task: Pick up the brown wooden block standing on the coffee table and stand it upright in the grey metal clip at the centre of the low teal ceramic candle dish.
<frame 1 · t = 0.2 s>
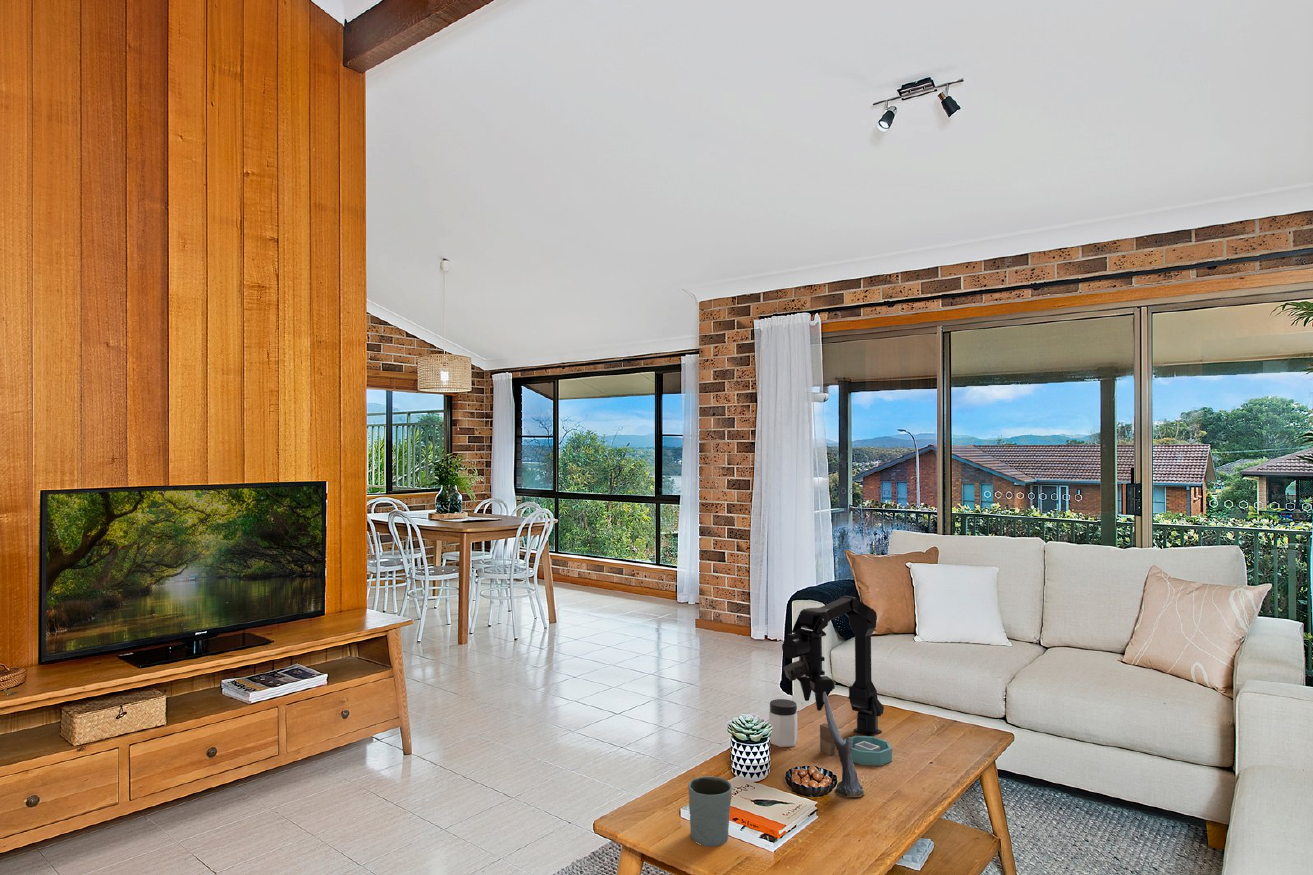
hand: (812, 705, 233), 14 cm above the table, fingers open, 9 cm apart
antler: (841, 792, 205), on the table
brown wooden block: (827, 753, 232), on the table
jar: (783, 743, 241), on the table
grey cup: (710, 838, 180), on the table
dish: (867, 756, 229), on the table
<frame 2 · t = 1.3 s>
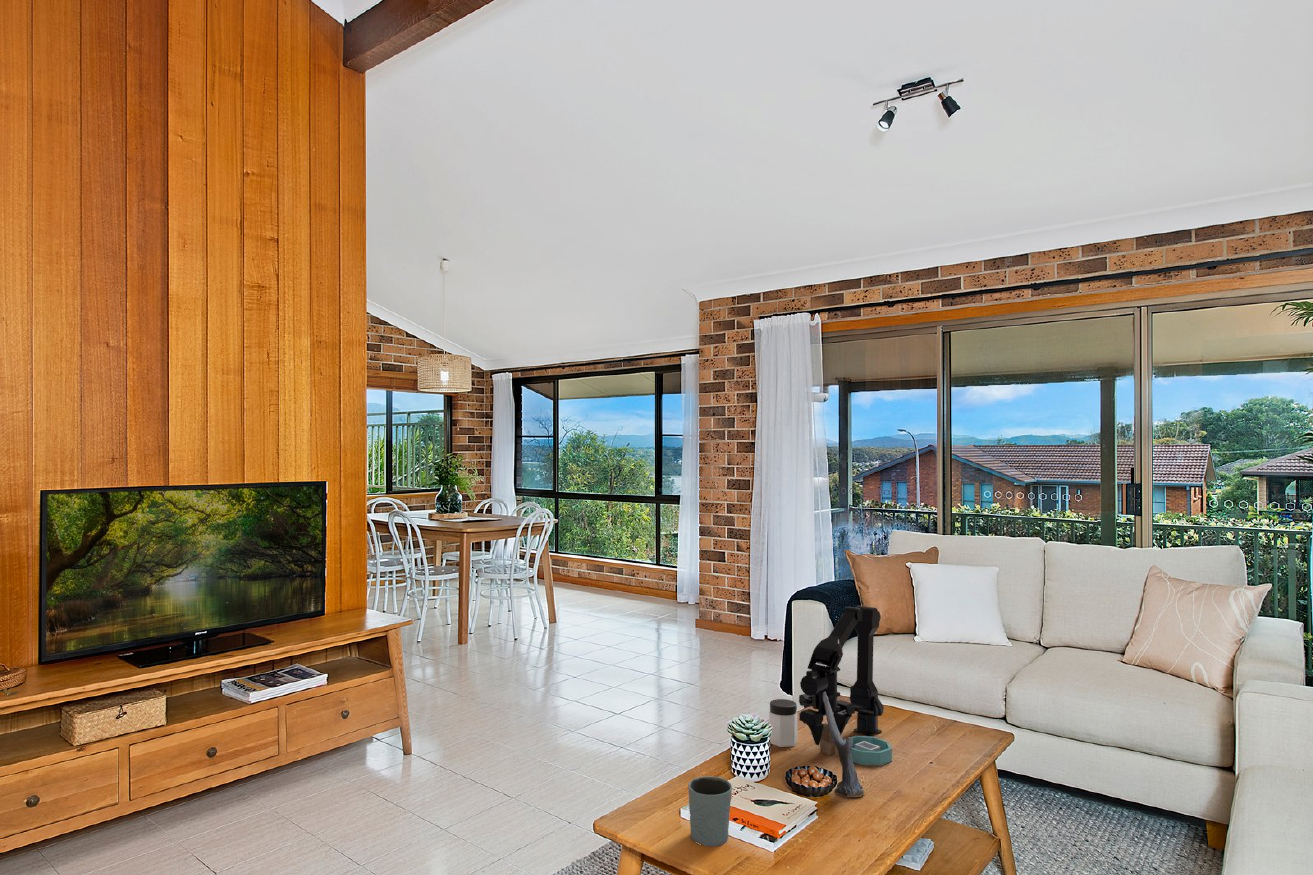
hand: (827, 741, 232), 3 cm above the table, fingers open, 9 cm apart
nothing on the table moved.
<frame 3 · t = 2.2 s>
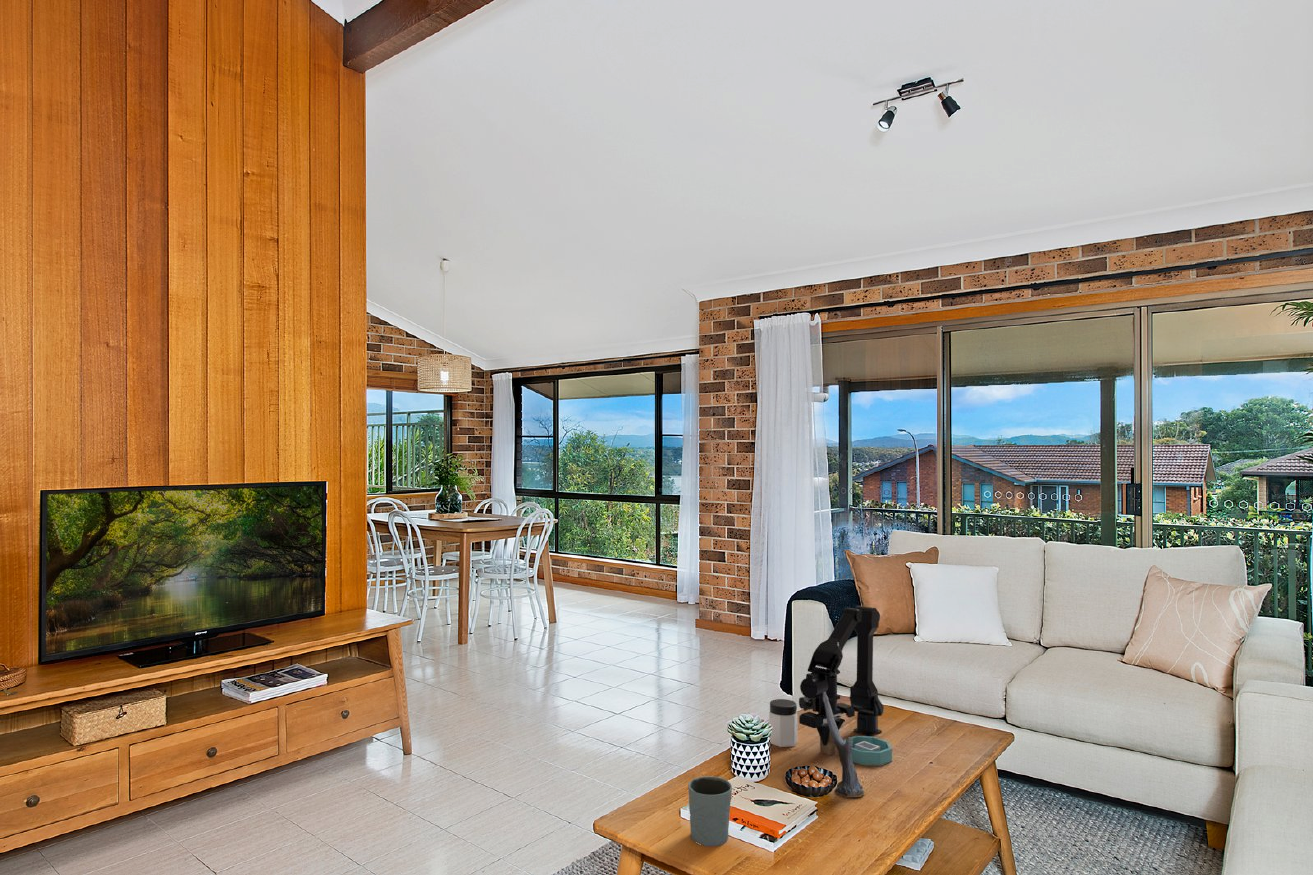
hand: (827, 744, 232), 3 cm above the table, fingers closed on brown wooden block, 2 cm apart
brown wooden block: (827, 753, 232), on the table, touching gripper
everything else where it was.
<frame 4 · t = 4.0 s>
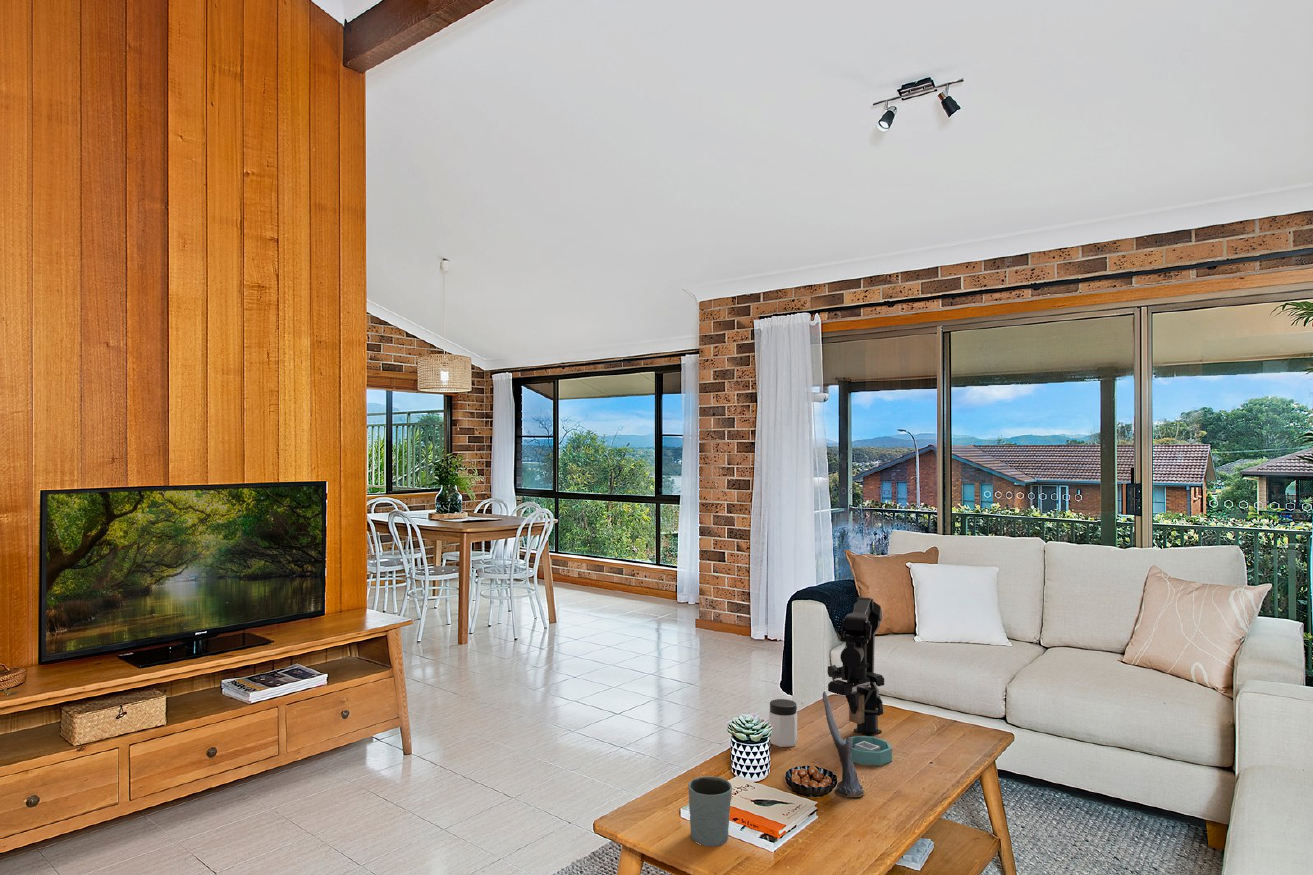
hand: (856, 712, 230), 12 cm above the table, fingers closed on brown wooden block, 2 cm apart
brown wooden block: (856, 721, 230), point 10 cm above the table, touching gripper
everything else where it was.
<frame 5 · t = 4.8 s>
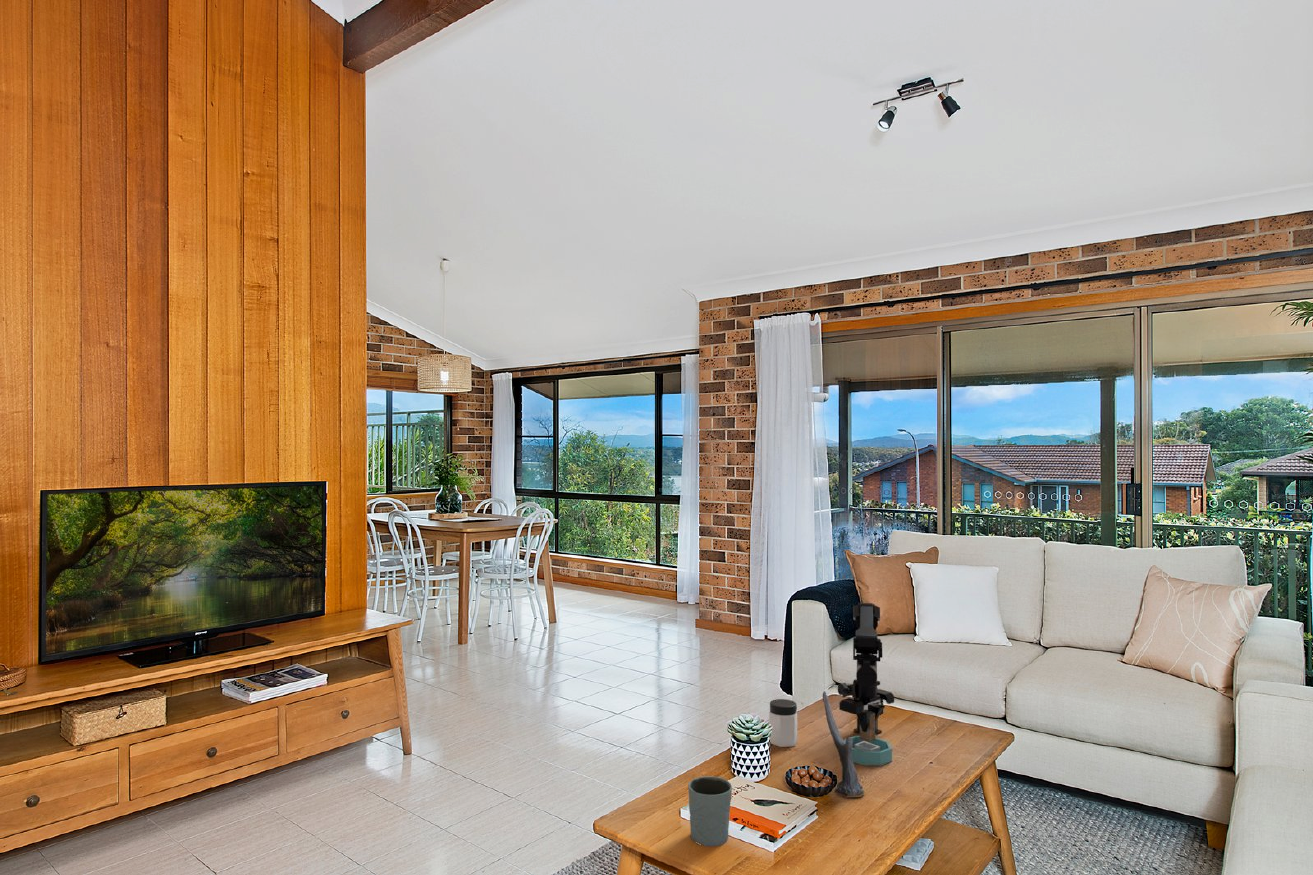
hand: (867, 731, 229), 7 cm above the table, fingers closed on brown wooden block, 2 cm apart
brown wooden block: (867, 739, 229), point 5 cm above the table, touching gripper
everything else where it was.
when the fingers open (4 cm above the table, at t = 5.7 s): brown wooden block stays where it is, resting on dish.
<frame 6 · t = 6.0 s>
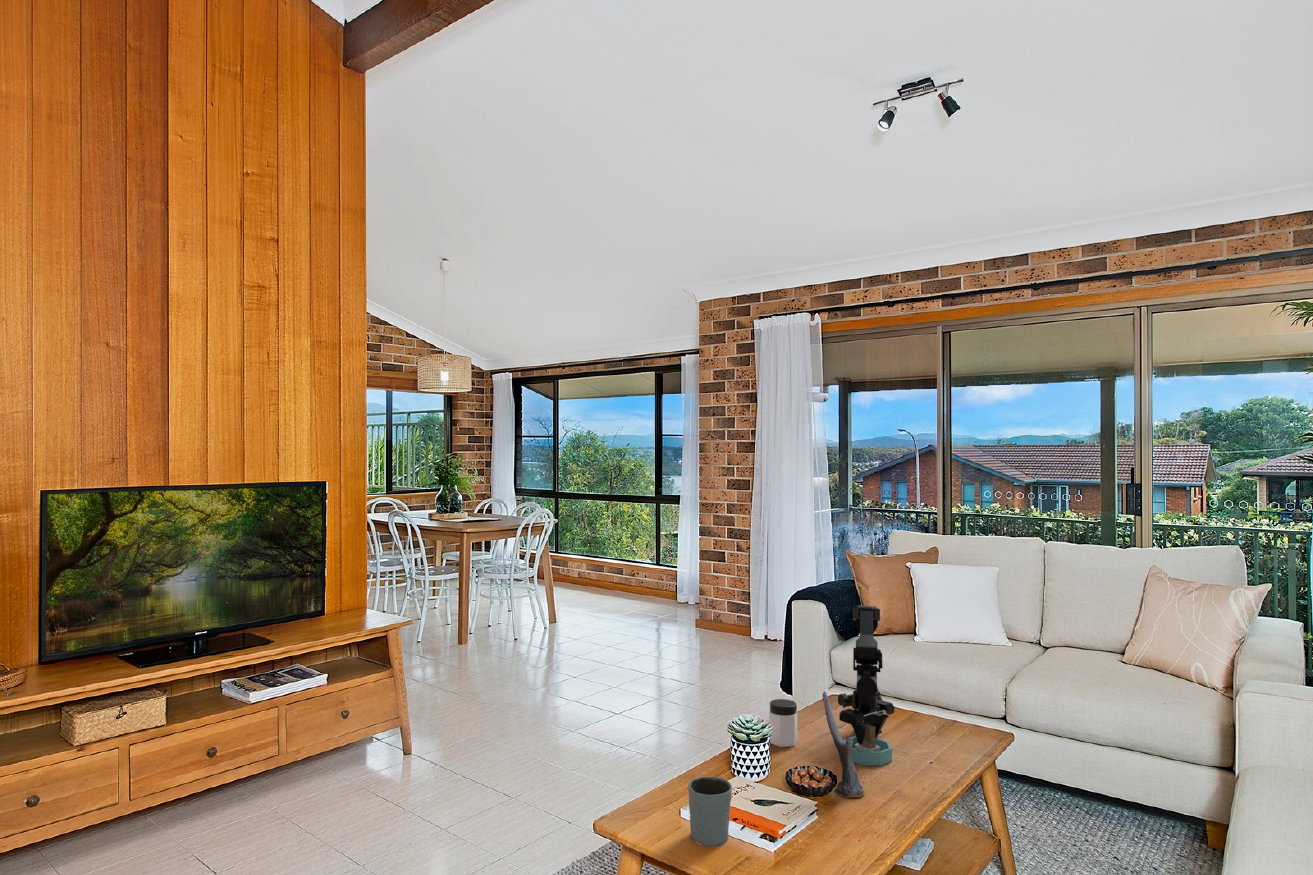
hand: (867, 741, 229), 4 cm above the table, fingers open, 6 cm apart
brown wooden block: (867, 753, 229), point 1 cm above the table, touching dish
everything else where it was.
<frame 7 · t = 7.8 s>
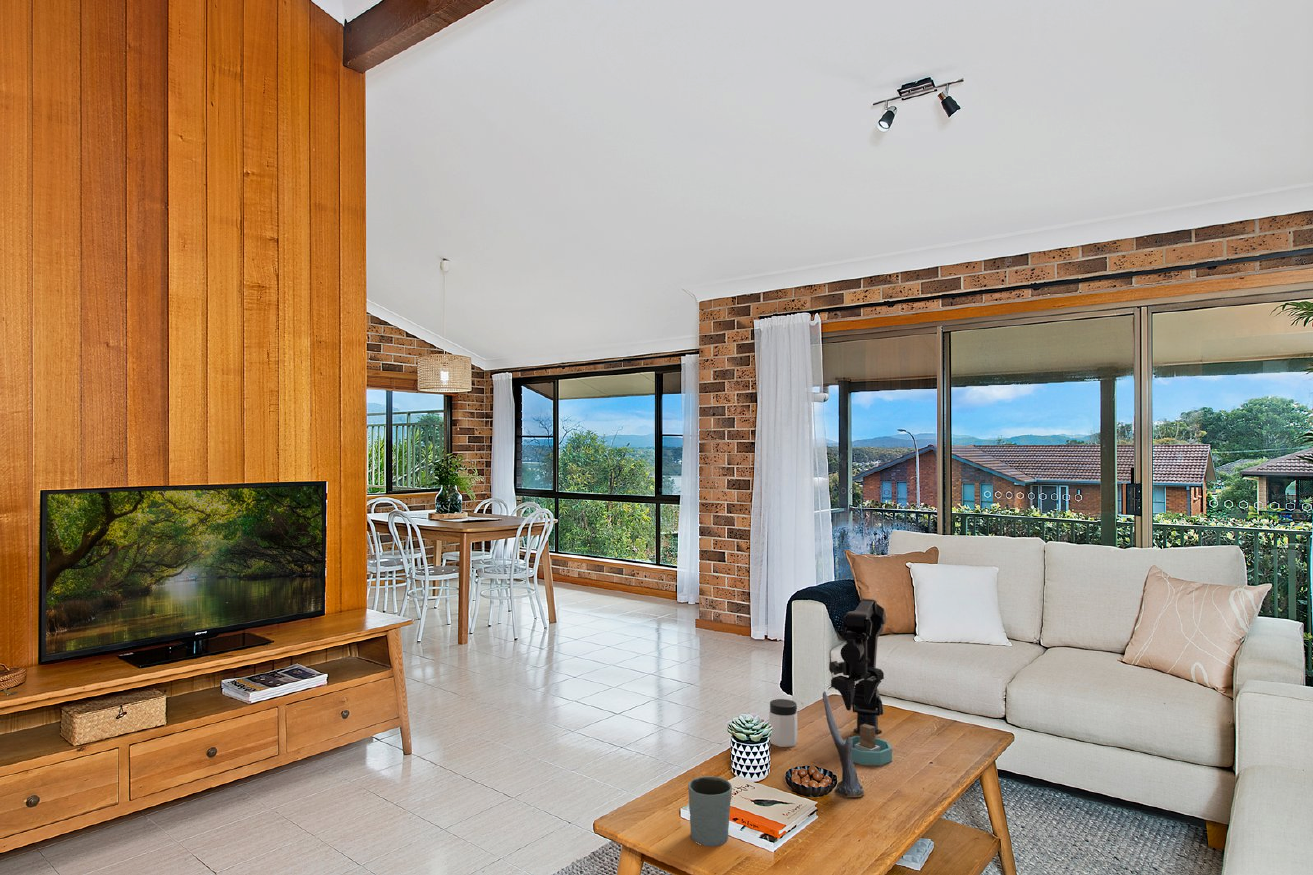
hand: (858, 706, 237), 12 cm above the table, fingers open, 9 cm apart
nothing on the table moved.
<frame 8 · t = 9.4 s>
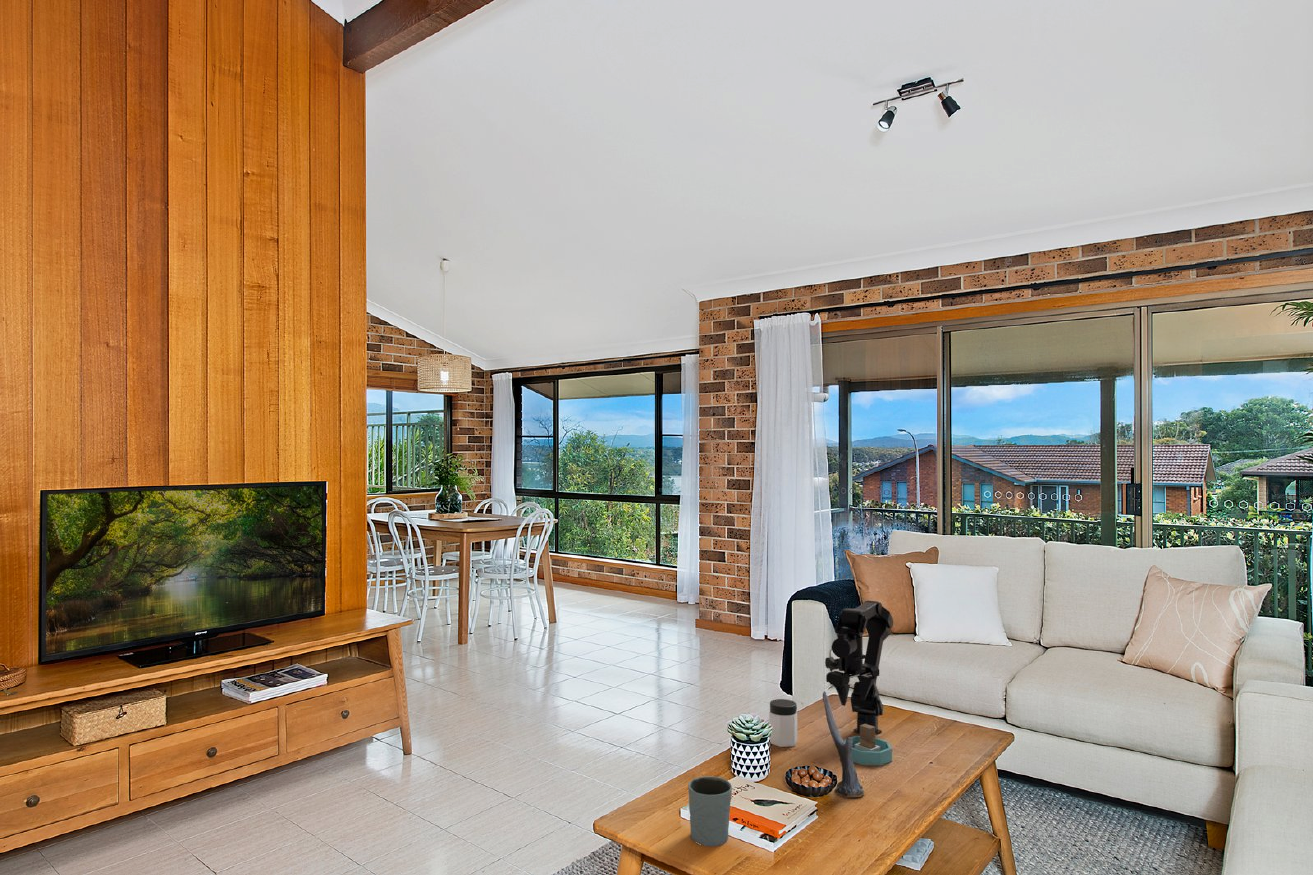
hand: (853, 702, 240), 13 cm above the table, fingers open, 9 cm apart
nothing on the table moved.
at the end: brown wooden block 0.0 cm off-centre on the dish, point 0.8 cm above the dish's base; brown wooden block tilted 0°; the gripper is holding nothing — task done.
